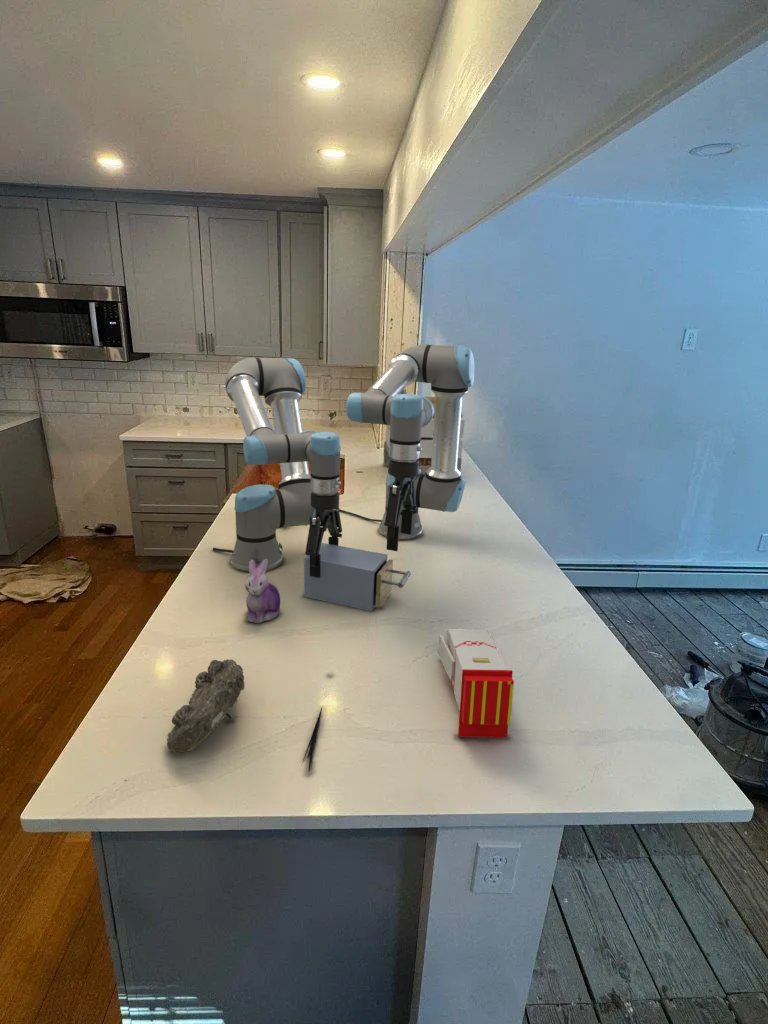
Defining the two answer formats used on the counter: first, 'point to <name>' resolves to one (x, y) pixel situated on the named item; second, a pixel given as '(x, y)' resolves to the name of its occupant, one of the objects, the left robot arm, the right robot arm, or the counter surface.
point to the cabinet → (344, 576)
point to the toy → (478, 682)
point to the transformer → (425, 441)
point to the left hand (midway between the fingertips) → (324, 567)
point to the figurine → (261, 594)
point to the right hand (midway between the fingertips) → (399, 541)
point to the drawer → (386, 582)
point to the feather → (313, 740)
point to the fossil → (206, 705)
